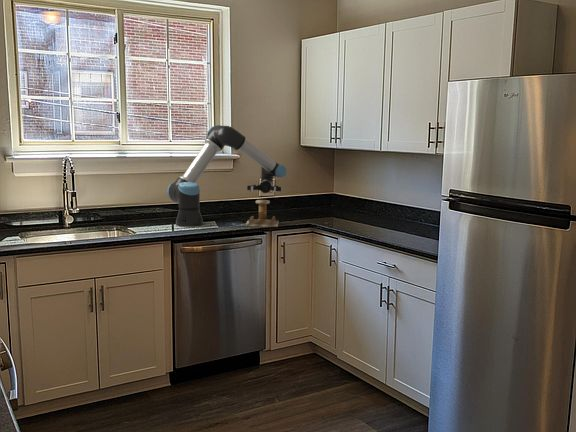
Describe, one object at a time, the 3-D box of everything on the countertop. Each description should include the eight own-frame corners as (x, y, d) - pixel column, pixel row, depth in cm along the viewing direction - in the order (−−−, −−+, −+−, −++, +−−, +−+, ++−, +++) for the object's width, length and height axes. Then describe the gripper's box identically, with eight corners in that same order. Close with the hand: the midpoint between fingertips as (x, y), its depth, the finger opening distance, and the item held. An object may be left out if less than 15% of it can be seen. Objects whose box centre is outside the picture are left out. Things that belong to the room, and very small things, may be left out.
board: (245, 226, 333) (245, 219, 333) (247, 222, 347) (247, 215, 347) (277, 226, 333) (277, 220, 332) (278, 222, 347) (278, 216, 346)
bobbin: (259, 223, 335) (259, 202, 333) (253, 221, 342) (253, 200, 340) (271, 222, 338) (272, 201, 336) (265, 220, 345) (265, 199, 343)
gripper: (285, 193, 369) (284, 197, 348) (245, 191, 370) (241, 195, 349) (286, 181, 368) (284, 184, 347) (245, 179, 369) (242, 182, 348)
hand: (263, 189), depth 348 cm, fingers open, 13 cm apart
